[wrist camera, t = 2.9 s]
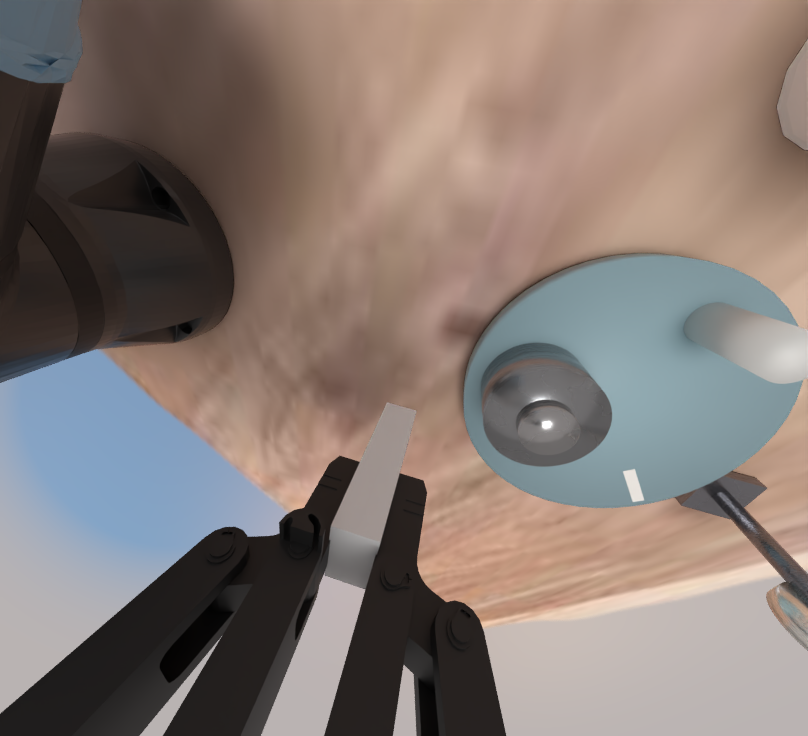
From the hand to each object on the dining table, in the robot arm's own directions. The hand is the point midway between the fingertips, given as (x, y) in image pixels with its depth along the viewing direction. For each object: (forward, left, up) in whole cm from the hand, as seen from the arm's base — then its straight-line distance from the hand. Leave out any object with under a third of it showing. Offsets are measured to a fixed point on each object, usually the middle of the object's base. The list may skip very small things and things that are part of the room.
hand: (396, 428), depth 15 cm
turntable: (+14, 0, -11) cm, 17 cm away
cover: (+8, 0, -8) cm, 11 cm away
